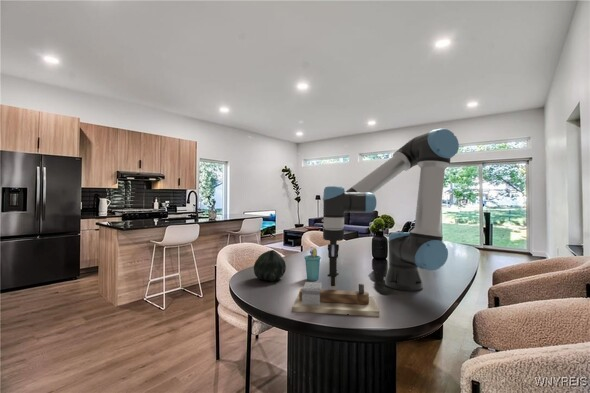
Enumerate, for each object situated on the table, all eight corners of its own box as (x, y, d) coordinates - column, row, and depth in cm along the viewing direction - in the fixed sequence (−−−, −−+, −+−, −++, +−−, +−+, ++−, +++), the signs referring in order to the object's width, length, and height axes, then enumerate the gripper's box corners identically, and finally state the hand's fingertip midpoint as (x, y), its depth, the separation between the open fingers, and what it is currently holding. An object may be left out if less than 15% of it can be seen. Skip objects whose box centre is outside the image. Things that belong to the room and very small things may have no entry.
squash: (259, 263, 142) (255, 244, 133) (288, 264, 141) (286, 245, 131) (253, 287, 132) (248, 269, 122) (284, 289, 130) (282, 271, 120)
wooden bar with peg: (368, 299, 98) (368, 282, 98) (369, 305, 93) (369, 287, 93) (301, 296, 102) (301, 279, 102) (299, 300, 97) (298, 283, 97)
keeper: (321, 296, 103) (321, 282, 103) (319, 306, 93) (319, 291, 93) (305, 295, 104) (305, 282, 104) (302, 305, 94) (302, 290, 94)
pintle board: (373, 300, 102) (373, 296, 102) (379, 316, 88) (379, 311, 88) (298, 297, 106) (298, 293, 106) (292, 311, 92) (292, 306, 92)
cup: (319, 284, 123) (319, 250, 123) (302, 283, 124) (302, 250, 125) (321, 276, 137) (321, 245, 137) (306, 275, 138) (305, 245, 138)
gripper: (324, 226, 107) (323, 287, 107) (321, 230, 95) (321, 299, 95) (343, 227, 106) (343, 288, 106) (344, 231, 93) (343, 301, 93)
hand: (332, 293), depth 100 cm, fingers closed
